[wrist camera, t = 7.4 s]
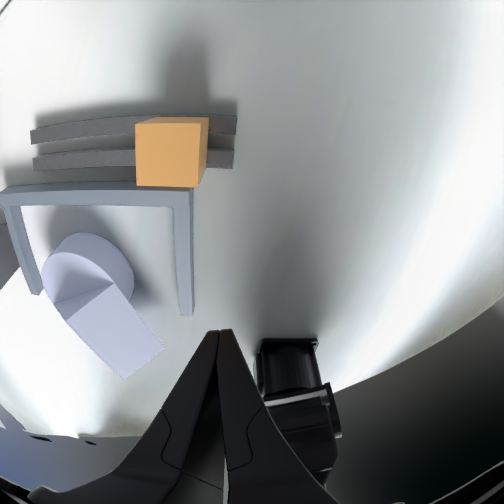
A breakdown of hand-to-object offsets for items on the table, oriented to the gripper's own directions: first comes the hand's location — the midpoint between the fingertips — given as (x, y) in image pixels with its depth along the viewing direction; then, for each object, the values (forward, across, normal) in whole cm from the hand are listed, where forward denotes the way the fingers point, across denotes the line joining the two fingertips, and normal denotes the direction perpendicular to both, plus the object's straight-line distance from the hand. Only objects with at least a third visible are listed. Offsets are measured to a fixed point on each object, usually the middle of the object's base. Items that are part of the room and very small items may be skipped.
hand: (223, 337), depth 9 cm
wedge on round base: (+14, +14, +7) cm, 21 cm away
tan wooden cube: (+13, +2, -5) cm, 14 cm away
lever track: (+13, +7, -6) cm, 16 cm away
